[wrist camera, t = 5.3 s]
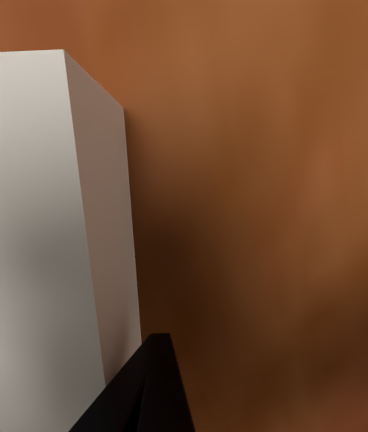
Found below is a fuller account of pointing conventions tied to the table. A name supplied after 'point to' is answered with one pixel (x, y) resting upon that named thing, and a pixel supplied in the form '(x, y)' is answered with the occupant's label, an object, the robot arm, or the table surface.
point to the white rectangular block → (61, 242)
